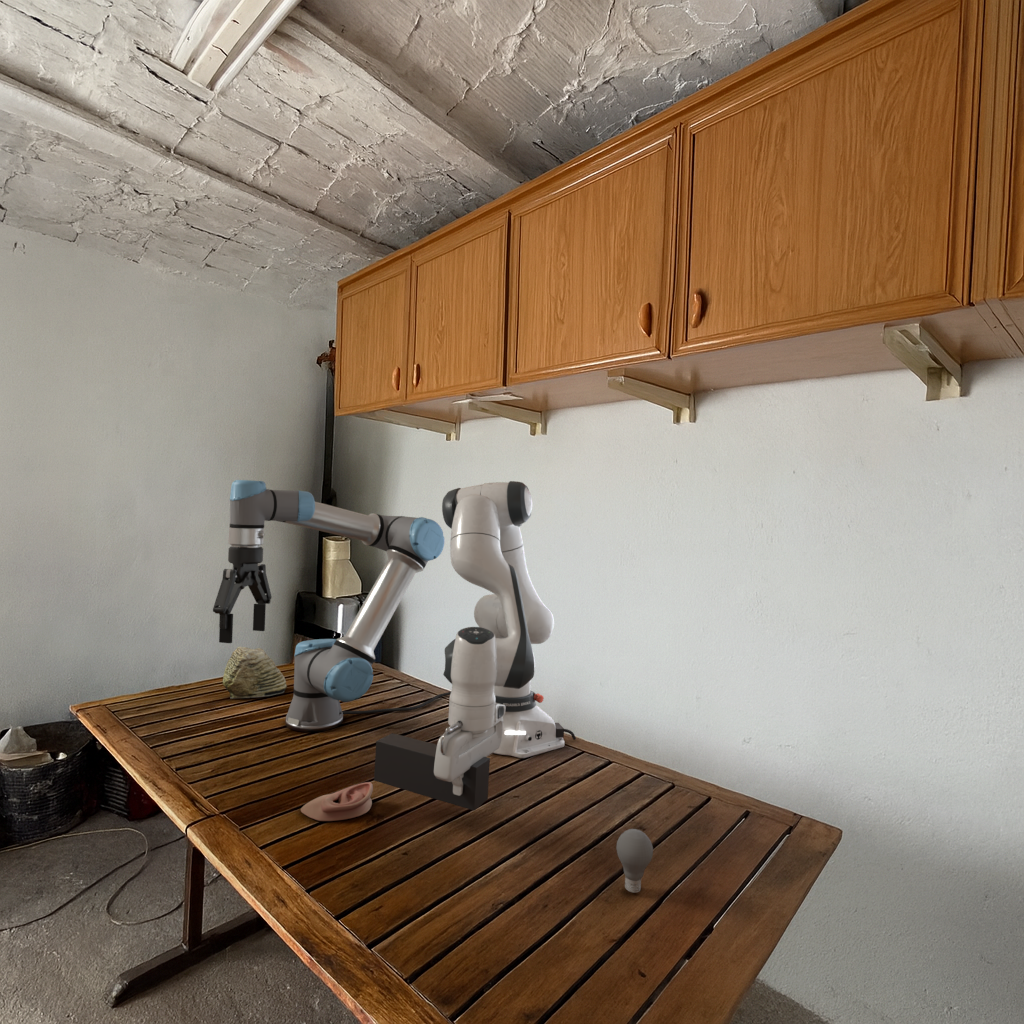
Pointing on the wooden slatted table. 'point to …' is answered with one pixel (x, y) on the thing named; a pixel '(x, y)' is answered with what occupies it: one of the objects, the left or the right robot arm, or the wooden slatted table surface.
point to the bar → (426, 772)
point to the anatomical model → (341, 804)
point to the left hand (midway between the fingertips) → (242, 636)
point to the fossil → (252, 674)
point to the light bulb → (634, 857)
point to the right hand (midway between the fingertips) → (467, 786)
